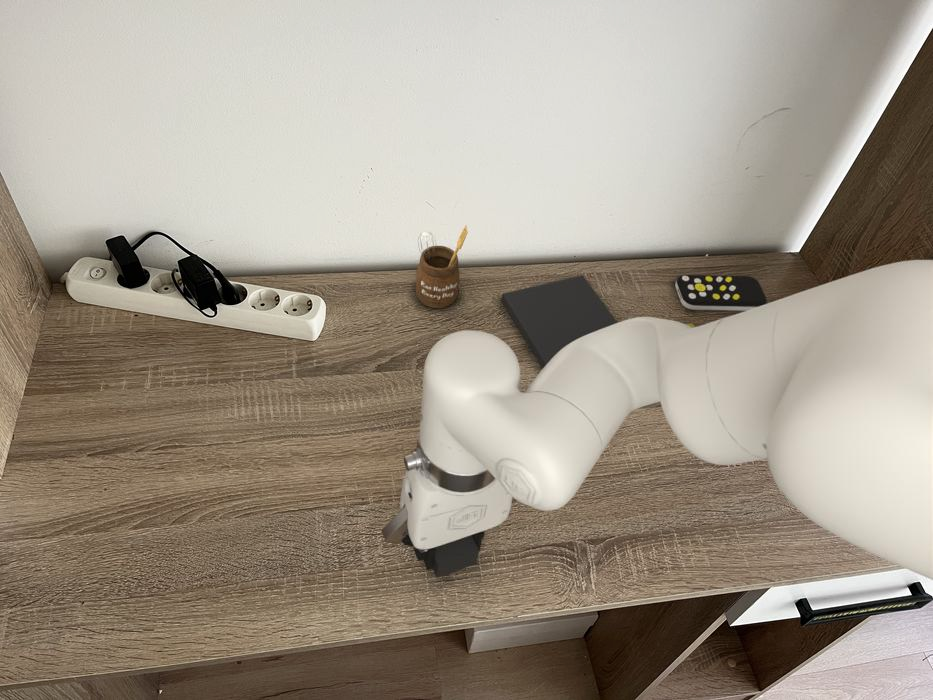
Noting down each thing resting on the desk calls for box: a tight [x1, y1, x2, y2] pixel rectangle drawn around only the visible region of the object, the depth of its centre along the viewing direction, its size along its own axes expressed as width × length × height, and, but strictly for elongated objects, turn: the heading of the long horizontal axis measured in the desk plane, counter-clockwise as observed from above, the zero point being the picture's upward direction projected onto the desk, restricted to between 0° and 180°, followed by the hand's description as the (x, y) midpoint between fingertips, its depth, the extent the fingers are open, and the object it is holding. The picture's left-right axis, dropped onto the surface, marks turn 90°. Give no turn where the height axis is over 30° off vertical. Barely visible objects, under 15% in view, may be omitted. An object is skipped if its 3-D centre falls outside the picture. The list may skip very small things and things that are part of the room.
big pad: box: [500, 274, 618, 370], centre depth 101 cm, size 22×13×2 cm, turn 23°
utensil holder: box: [415, 224, 469, 309], centre depth 101 cm, size 6×6×12 cm
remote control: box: [674, 274, 768, 312], centre depth 110 cm, size 6×13×2 cm, turn 94°
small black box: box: [431, 535, 480, 579], centre depth 78 cm, size 5×4×3 cm
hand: (448, 547), depth 79 cm, fingers closed on small black box, 4 cm apart
